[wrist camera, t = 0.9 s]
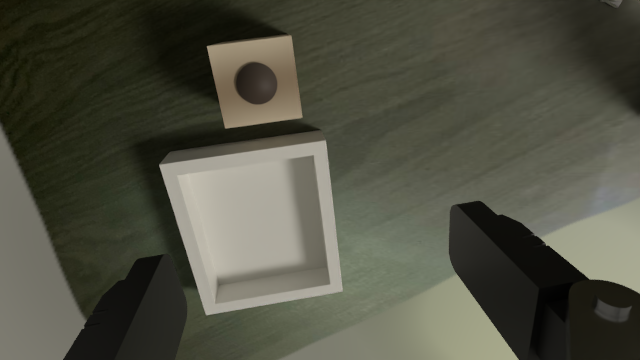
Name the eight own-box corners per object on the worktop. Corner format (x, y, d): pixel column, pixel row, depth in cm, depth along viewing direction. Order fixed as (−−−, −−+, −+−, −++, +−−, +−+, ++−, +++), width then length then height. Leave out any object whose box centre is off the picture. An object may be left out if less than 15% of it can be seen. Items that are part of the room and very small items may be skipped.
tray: (170, 151, 28) (159, 164, 26) (320, 129, 29) (325, 140, 26) (211, 291, 34) (206, 315, 31) (337, 270, 35) (342, 291, 32)
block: (220, 42, 26) (206, 46, 20) (287, 33, 26) (291, 35, 21) (234, 108, 28) (224, 129, 22) (296, 100, 28) (302, 118, 22)
